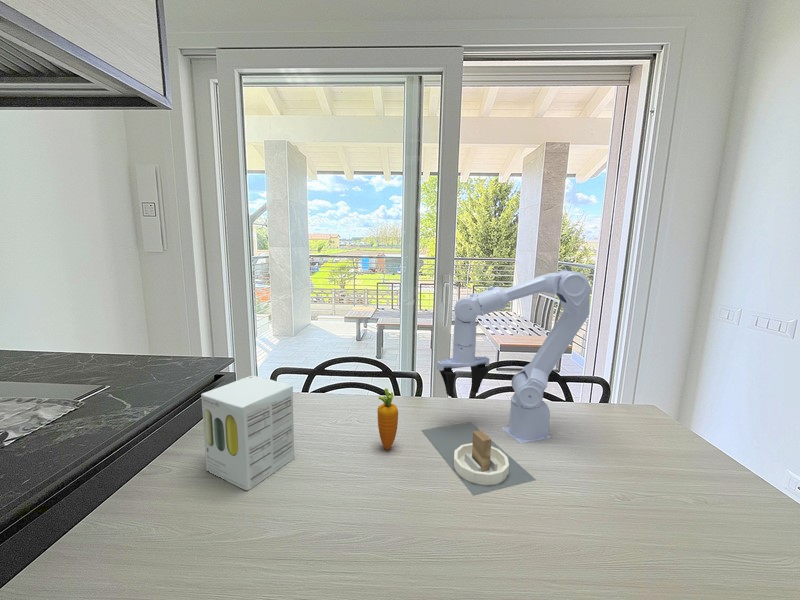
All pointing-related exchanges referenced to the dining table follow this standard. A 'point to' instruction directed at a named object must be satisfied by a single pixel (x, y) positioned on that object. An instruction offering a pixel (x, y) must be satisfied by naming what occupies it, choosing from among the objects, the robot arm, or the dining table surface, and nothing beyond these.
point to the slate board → (461, 434)
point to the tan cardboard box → (481, 450)
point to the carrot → (387, 420)
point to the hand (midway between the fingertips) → (462, 393)
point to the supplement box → (248, 430)
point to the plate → (472, 470)
